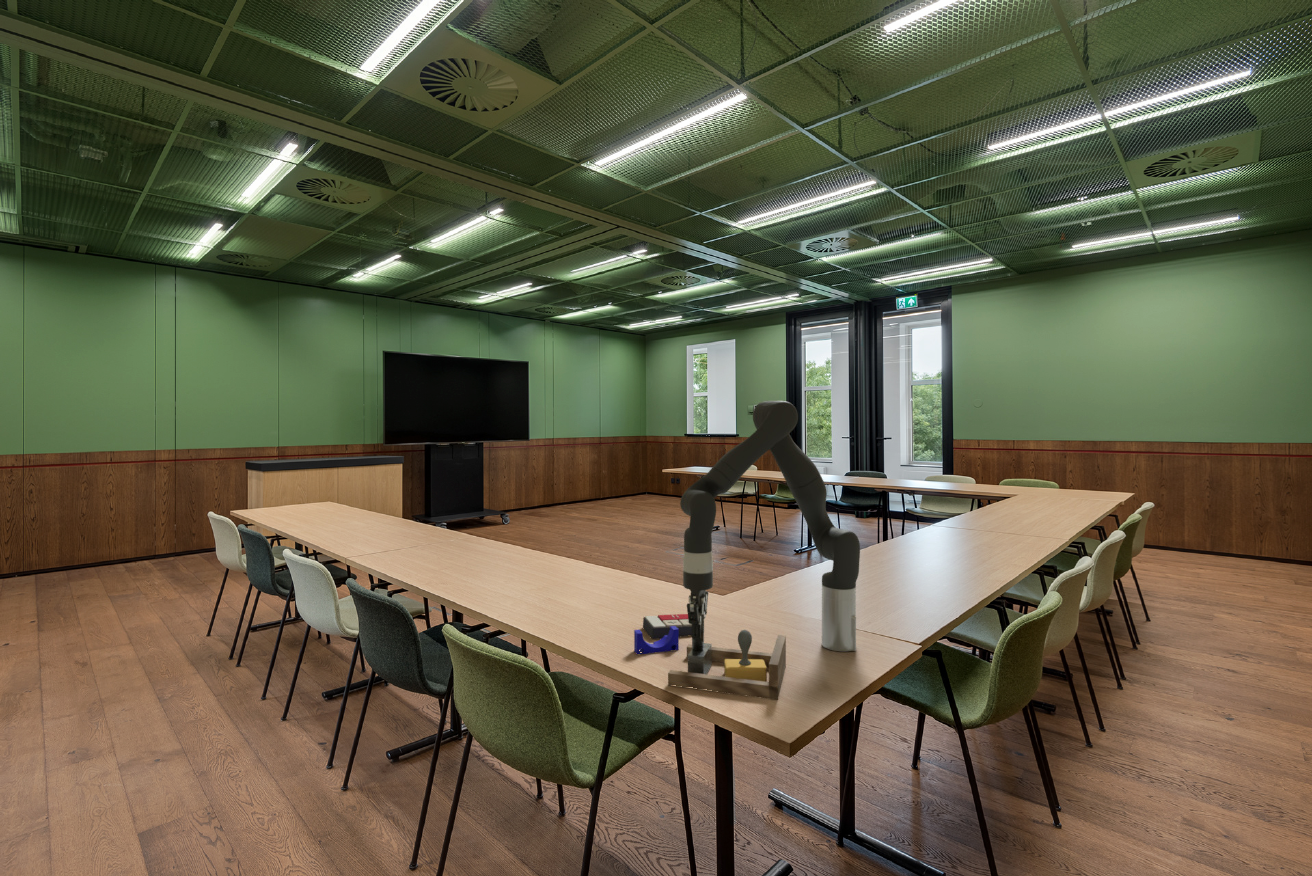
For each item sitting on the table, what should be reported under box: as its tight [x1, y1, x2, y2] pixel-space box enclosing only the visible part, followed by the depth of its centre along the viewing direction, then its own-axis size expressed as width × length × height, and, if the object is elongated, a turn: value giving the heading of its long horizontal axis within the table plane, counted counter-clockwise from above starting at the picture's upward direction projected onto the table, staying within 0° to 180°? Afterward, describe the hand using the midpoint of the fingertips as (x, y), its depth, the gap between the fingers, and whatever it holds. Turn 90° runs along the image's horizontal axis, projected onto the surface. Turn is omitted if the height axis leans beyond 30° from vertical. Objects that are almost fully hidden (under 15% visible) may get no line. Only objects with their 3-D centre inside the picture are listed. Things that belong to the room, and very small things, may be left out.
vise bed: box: [667, 634, 787, 701], centre depth 149 cm, size 26×20×8 cm
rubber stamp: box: [723, 629, 768, 682], centre depth 148 cm, size 10×6×12 cm, turn 87°
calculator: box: [642, 613, 692, 640], centre depth 182 cm, size 11×4×15 cm
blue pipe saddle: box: [633, 626, 680, 655], centre depth 167 cm, size 12×4×6 cm, turn 107°
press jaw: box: [687, 613, 713, 675], centre depth 151 cm, size 4×9×14 cm, turn 163°
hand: (698, 636), depth 152 cm, fingers closed on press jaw, 3 cm apart
